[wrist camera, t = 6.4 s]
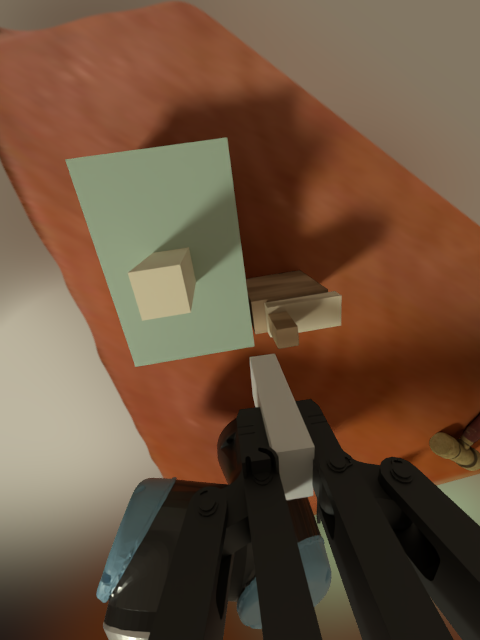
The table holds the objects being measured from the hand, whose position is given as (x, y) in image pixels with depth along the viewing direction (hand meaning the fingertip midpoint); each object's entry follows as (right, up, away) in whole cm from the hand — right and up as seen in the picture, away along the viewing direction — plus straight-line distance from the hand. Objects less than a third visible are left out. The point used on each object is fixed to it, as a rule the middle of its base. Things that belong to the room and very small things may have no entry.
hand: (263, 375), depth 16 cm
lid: (-8, +9, +13) cm, 18 cm away
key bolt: (+5, +4, +15) cm, 16 cm away
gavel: (+47, -16, +40) cm, 64 cm away
